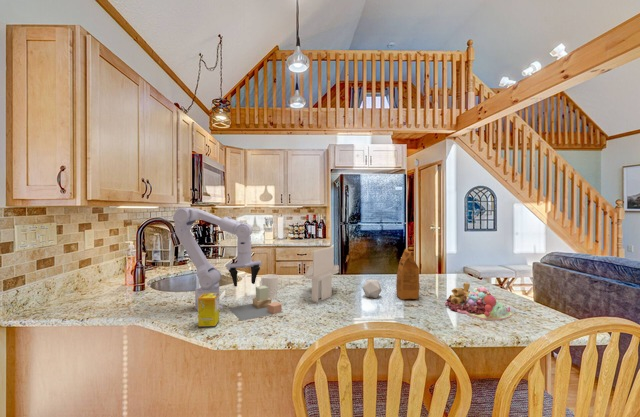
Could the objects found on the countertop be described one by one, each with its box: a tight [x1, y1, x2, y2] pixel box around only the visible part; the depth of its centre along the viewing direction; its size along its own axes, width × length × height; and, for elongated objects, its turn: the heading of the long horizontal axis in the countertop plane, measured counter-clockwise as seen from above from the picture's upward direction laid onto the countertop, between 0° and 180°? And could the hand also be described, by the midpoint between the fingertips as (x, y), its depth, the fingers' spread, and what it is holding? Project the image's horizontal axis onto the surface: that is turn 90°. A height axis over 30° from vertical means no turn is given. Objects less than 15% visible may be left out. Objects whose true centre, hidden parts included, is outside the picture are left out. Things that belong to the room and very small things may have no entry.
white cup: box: [260, 273, 279, 300], centre depth 146 cm, size 8×8×10 cm
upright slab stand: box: [304, 244, 340, 304], centre depth 149 cm, size 28×21×23 cm
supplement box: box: [197, 292, 220, 329], centre depth 113 cm, size 6×6×11 cm
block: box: [267, 301, 282, 315], centre depth 126 cm, size 4×4×3 cm
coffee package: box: [395, 248, 421, 301], centre depth 147 cm, size 10×12×22 cm
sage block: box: [255, 285, 268, 301], centre depth 133 cm, size 4×4×5 cm
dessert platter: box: [444, 282, 513, 322], centre depth 131 cm, size 25×24×9 cm
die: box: [361, 279, 382, 299], centre depth 147 cm, size 8×9×10 cm
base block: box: [252, 297, 272, 309], centre depth 133 cm, size 6×6×3 cm
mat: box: [228, 303, 283, 322], centre depth 128 cm, size 17×17×1 cm
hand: (244, 284), depth 131 cm, fingers open, 7 cm apart
